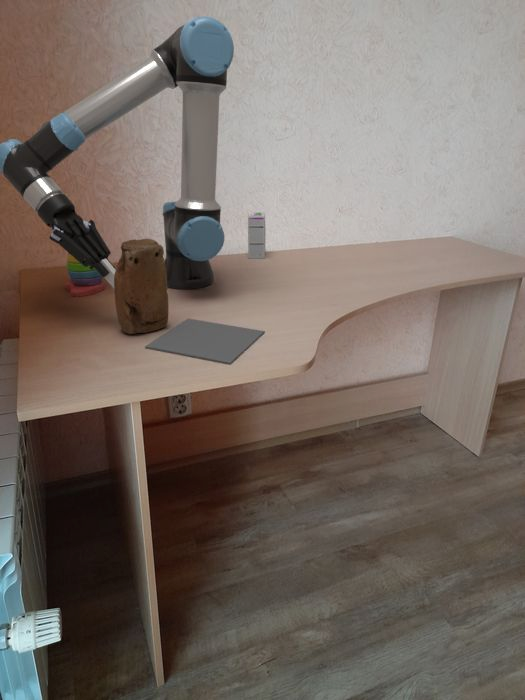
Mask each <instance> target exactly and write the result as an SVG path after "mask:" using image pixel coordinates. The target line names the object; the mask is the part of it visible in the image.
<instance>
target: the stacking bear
mask: <svg viewBox="0 0 525 700" xmlns="http://www.w3.org/2000/svg"><path fill="white" fill-rule="evenodd" d="M66 260H67V261H66V268H67V274H68V276H69V278H70V281H67V282H66V283H65V285H64V287H65V289H66V290H68V291H69V295H70V296H71V297H74V296H75V297H79V296H80V297H85V296H91V295H94V294H98V293H100V292H102V291H104V289H105V284H104V282H103V277H102V276H101V275H100V273H99V272H98V271H97V270H96V269H95V268H93V269H90V268H89V267H90V266H88V267H85V266H83V265H82V264H81V263H80V262H79V261H78V260H76V259H75V258H74V257H73V256H72V255H71V254H70V253H68V252H67V258H66ZM84 260H85V259H84Z"/></svg>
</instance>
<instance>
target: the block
mask: <svg viewBox="0 0 525 700" xmlns="http://www.w3.org/2000/svg"><path fill="white" fill-rule="evenodd" d="M120 249H121V256H120V258H119V260H118V261H117V265H116V271H115V275H114V288H113V290H114V291H113V292H114V300H115V301H114V302H115V310H116V318H117V321H118V324H119V326H120V329H121V330H122V331H123V333H126V334H129V335H134V334H137V333H141V334H142V333H143V334H144V333H149V332H153V331H157V330H161V329H162V328H164V327H166V326H167V325H168V323H169V294H168V287H167V276H166V267H165V258H164V255H165V251H164V246H162V245H161V244H159V242H158V241H156V240H155V239H152V238H142V239H130V240H129V239H128V240H126V241H123V242H121V245H120Z"/></svg>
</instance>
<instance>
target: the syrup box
mask: <svg viewBox="0 0 525 700" xmlns="http://www.w3.org/2000/svg"><path fill="white" fill-rule="evenodd" d="M247 238H248V239H247V241H248V242H247V244H248V247H247V248H248V249H247V251H248V259H253V260H254V259H255V260H256V259H257V260H258V259H259V260H260V259H261V260H262V259H265V258H266V213H265V212H248V215H247Z"/></svg>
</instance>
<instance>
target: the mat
mask: <svg viewBox="0 0 525 700" xmlns="http://www.w3.org/2000/svg"><path fill="white" fill-rule="evenodd" d="M265 333H266V331H265V330H260V329H254V328H253V329H252V328H248V327H241V326H236V325H230V324H224V323H217V322H213V321H212V322H211V321H207V320H199V319H193V318H187V319H184V320H183V321H182V322H180V323H179V324H177V325H175V326H174V327H173V328H171V329H169V330H167V331H166V332H165V333H163V334H162V335H160V336H159V337H156V339H154V340H153V341H151V342H149V343H148V344H147V345H145V346H144V349H149V350H153V351H159V352H163V353H169V354H174V355H178V356H184V357H189V358H194V359H199V360H200V359H201V360H204V361H205V360H206V361H210V362H214V363H221V364H225V365H232V364H233V363H234V362H235V361H236V360H237V359H238V358H239V357H241V355H242V354H244V353H245V352H246V351H247V350H248V349H249V348H250V347H251V346H252V345H254V343H256V342H257V341H258V340H259V339H260V338H261V337H262V336H263V335H265ZM259 337H260V338H259ZM258 338H259V339H258Z"/></svg>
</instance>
